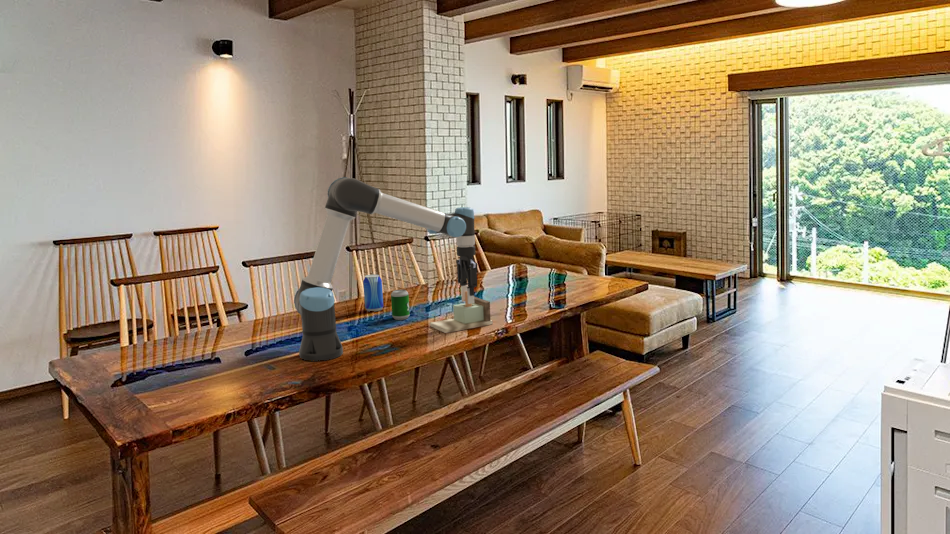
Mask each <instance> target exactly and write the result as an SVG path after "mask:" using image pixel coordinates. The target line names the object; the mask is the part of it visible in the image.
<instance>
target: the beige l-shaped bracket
mask: <svg viewBox="0 0 950 534" xmlns="http://www.w3.org/2000/svg"><path fill="white" fill-rule="evenodd" d="M474 303H476V304H479V305H482V306H483V312H484V320H483V321H477V322H472V323H466V324H464V323H462V322H459V321H457V320H454V318H450V319H449V318H448V319H444V320H438V321H433V322H429V323H430V324H429V325H430V327H431V328H433V329H435V330H438V331H439V332H443V333H444V334H447V333H448V334H449V333H452V332H457V331H463V330H467V329H468V330H469V329H474V328H479V327H485V326H490V325H494V324H493V320H492V319H491V302H490V301H489V300H485V299H482V298H479V297H477V296H474Z"/></svg>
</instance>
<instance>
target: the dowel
mask: <svg viewBox="0 0 950 534" xmlns="http://www.w3.org/2000/svg"><path fill="white" fill-rule="evenodd" d="M464 303H465V307H471V306H472V303H471V304H468V296H467V291H466V292H465V302H464Z"/></svg>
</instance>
